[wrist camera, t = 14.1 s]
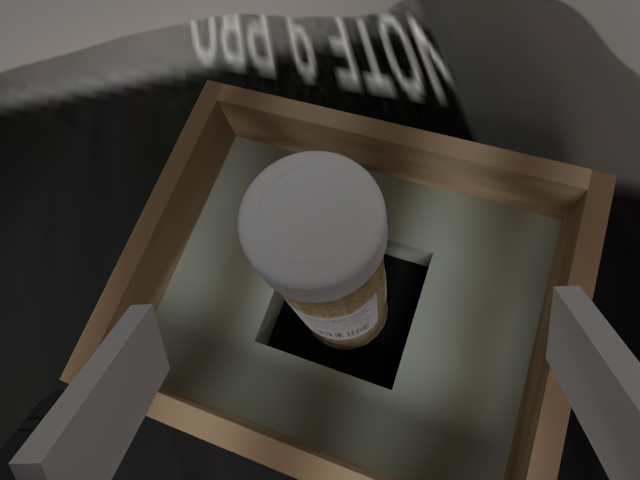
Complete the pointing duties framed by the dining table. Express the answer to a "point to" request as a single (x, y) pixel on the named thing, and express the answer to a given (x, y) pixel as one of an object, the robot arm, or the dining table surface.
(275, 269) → the sprinkles bottle
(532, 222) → the bore box
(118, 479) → the dining table surface
